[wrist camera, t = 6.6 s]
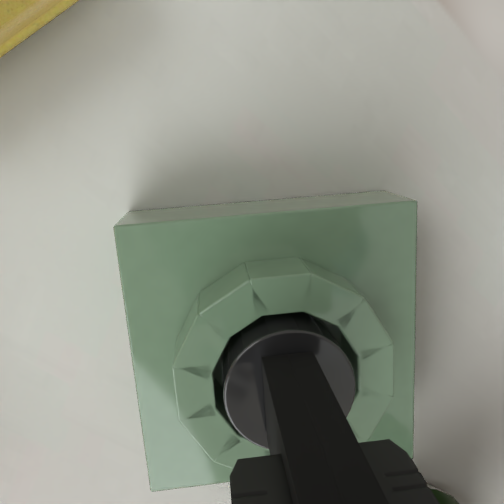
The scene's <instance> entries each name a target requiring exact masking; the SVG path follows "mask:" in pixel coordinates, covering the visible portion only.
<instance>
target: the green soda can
mask: <svg viewBox="0 0 504 504" xmlns="http://www.w3.org/2000/svg"><path fill="white" fill-rule="evenodd" d="M427 486H428V487H430V489H431V491H432V492H433V494H434V495H435V497H436V498H437V500H438V502H439V503H440V504H459V503H458V502H457V501H456V500H455V499H454V498H453V497H452V496H451V495H449V494H447V493H445V492H444V491H442V490H440V489H438V488H436V487H433V486H431V485H429V484H427Z"/></svg>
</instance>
